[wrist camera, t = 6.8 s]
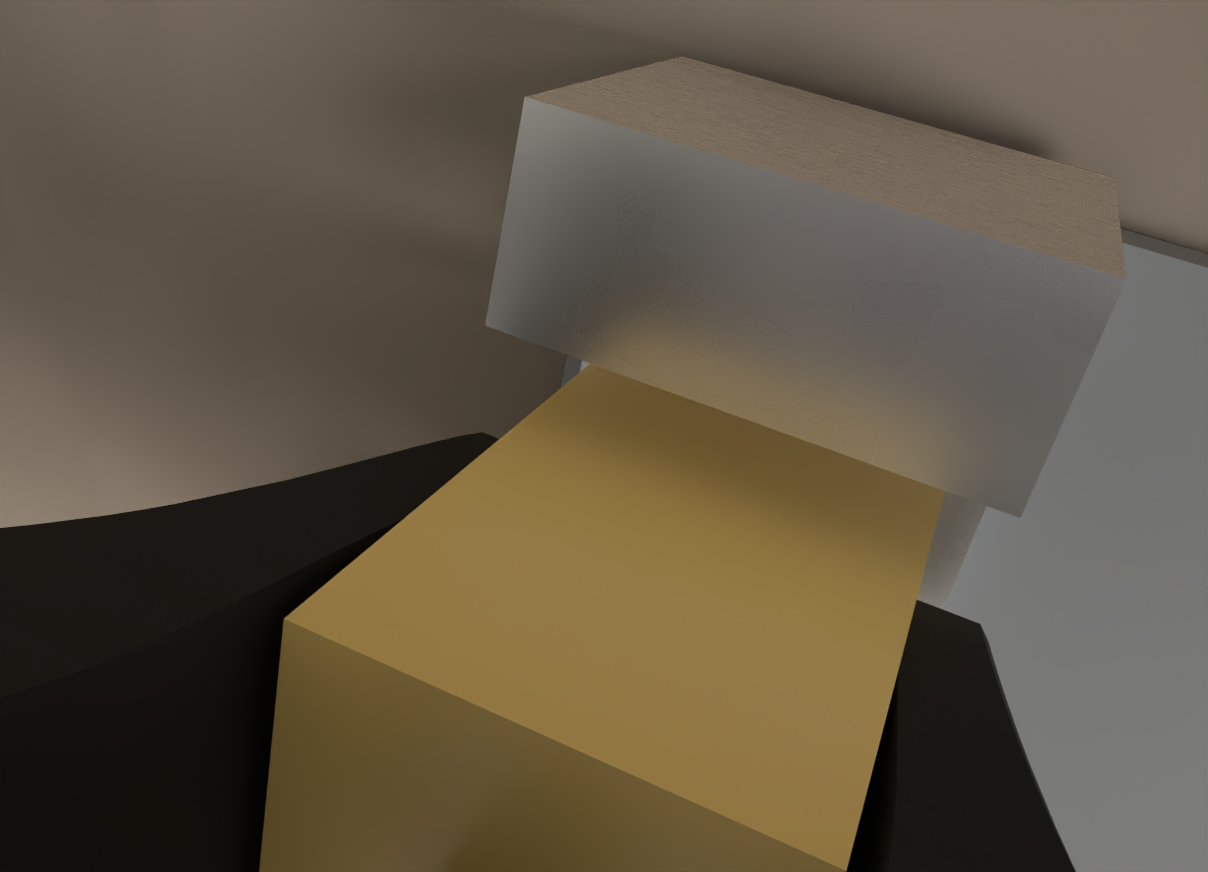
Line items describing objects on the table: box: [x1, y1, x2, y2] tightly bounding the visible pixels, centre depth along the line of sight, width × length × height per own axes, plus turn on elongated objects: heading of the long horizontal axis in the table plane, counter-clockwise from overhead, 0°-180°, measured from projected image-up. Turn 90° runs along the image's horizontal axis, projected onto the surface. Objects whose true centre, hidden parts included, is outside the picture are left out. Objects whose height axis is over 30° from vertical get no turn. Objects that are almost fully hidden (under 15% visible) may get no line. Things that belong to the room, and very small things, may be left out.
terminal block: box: [485, 56, 1127, 609], centre depth 11 cm, size 4×8×4 cm, turn 167°
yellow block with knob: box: [259, 364, 945, 872], centre depth 8 cm, size 3×3×6 cm
